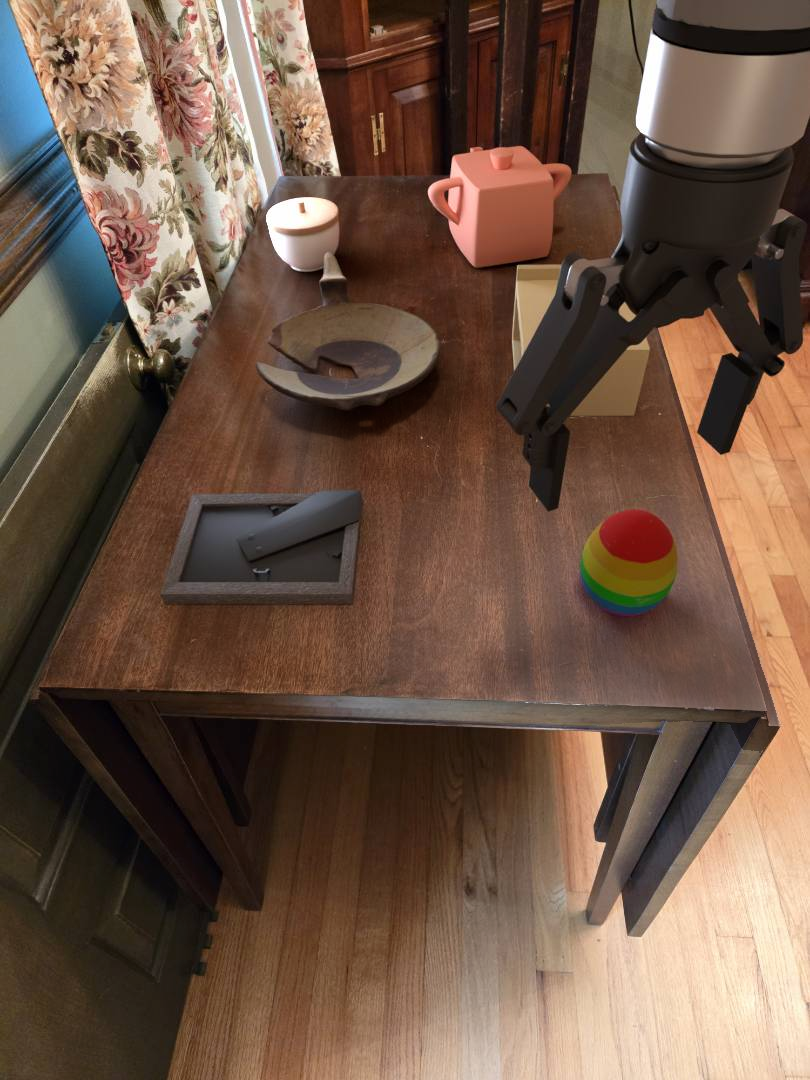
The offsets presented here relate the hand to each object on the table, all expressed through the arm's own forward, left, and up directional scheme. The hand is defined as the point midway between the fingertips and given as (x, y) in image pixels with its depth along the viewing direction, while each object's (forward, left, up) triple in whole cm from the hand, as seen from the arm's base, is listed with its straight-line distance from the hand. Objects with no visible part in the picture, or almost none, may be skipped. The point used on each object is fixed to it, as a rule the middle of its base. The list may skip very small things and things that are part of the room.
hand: (630, 469), depth 50 cm
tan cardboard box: (+17, -35, -20) cm, 43 cm away
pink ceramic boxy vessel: (+43, -63, -20) cm, 78 cm away
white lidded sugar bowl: (+64, -43, -20) cm, 80 cm away
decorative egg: (-1, -6, -20) cm, 21 cm away
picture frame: (+31, +7, -20) cm, 38 cm away
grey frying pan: (+42, -23, -20) cm, 52 cm away
